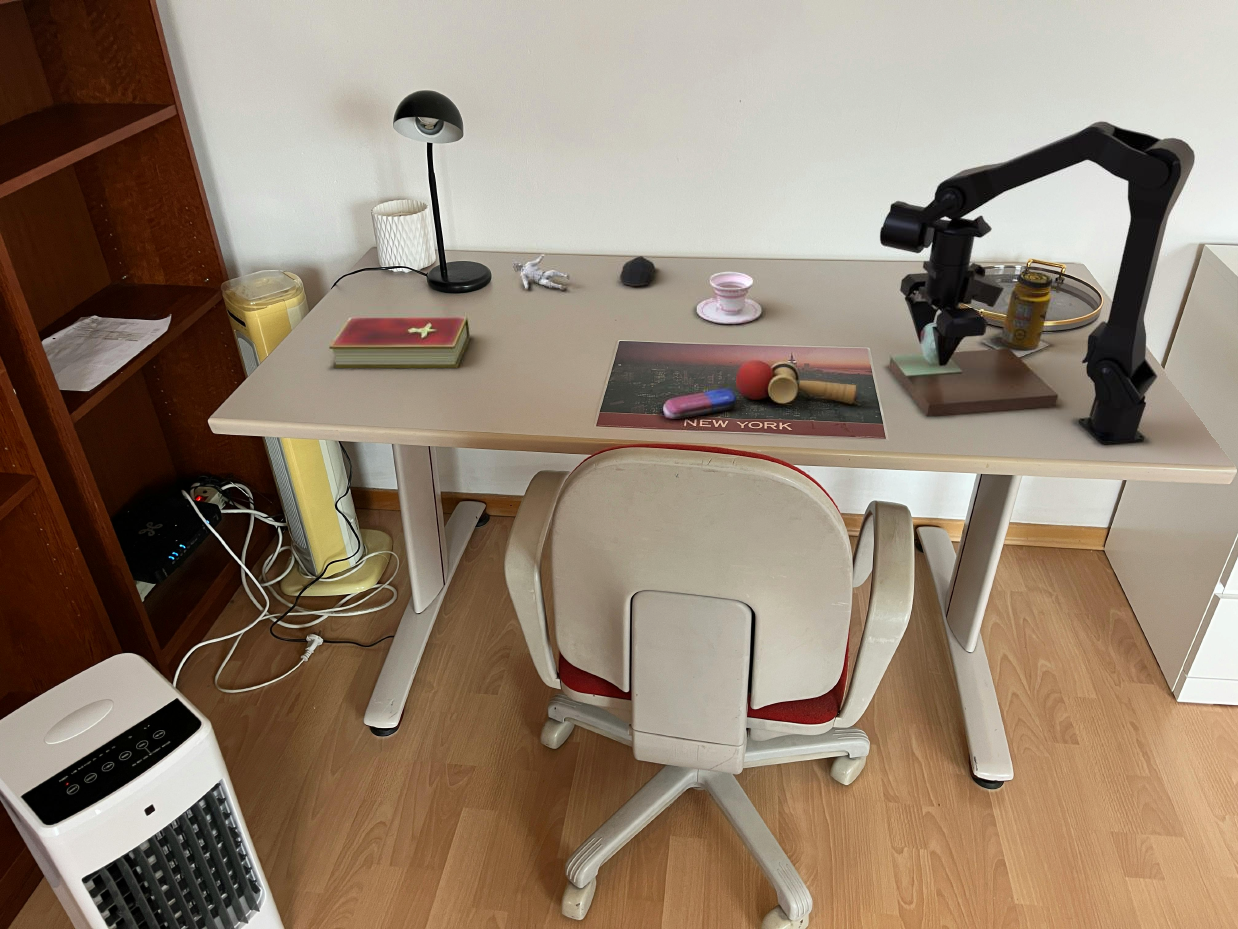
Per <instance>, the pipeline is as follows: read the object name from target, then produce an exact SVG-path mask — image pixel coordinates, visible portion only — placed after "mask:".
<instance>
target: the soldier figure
mask: <svg viewBox="0 0 1238 929" xmlns="http://www.w3.org/2000/svg"><path fill="white" fill-rule="evenodd" d="M545 256H547V255H546V254H541V255H539V257H538V258H537V259H535V260H532V261H528V262H526V264H525V265H523V262H522V261H521V262H520V261H514V262H513V265H512V268H513V271H514V273H516V274H518V272H520V277H521V279H522V282H523V286H524V288H525V289H526V290H529V280H530V281H531V282H535V283H537V284H538V285H542V286H544V287H548V288H549V289H552V288H553V289H560V290H562V291H564V290H565V286H564V285H562V284H557V283H554V282H553V281H551V280H550V279H552V278H554V277H557V278H564V279H566V280H568V281H569V280H570V279H571V277H570V274H569V273H566V274H565V273H562V272H560V271H558V270H557V269H552V270H548V271H544V270H542V269H540V267H539V266H537V265H540V263H541V262H542V261H543V259H544V257H545ZM528 279H529V280H528Z"/></svg>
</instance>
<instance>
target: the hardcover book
mask: <svg viewBox="0 0 1238 929" xmlns="http://www.w3.org/2000/svg"><path fill="white" fill-rule="evenodd" d="M470 336H471V335H470V327H469V320H468V317H349V318H348V319H347V320H346V322H345V323H344V324H343V326H342V327H341V329H340V330H339V332H338V333H337V335H336V336H335V337H334V339H333V340H332V342H331V343H330V344H329V346H328V349H330V350H332V351H333V353H332V354H333V356H334V361H335V362H334V363H333V365H332V368H333V369H427V368H428V369H434V368H435V369H457V368H458V367H459V365H460V362H461V359H462V358H463V354H464V353H465V350H466V348H467V346H468V342H469V341H470Z"/></svg>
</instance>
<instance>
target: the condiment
mask: <svg viewBox="0 0 1238 929" xmlns="http://www.w3.org/2000/svg"><path fill="white" fill-rule="evenodd" d="M1052 284H1053V278H1052V277H1051V276H1050V275H1048V274H1046V273H1043V272H1038V271H1024V272H1021V273H1019V275H1018V276H1017V278H1016V283H1015V285H1014V288H1013V289H1012V290H1011V294H1010V296H1009V302H1008V307H1007V311H1006V315H1005V319H1004V323H1003V327H1002V333H1001V334H999V335H995V336H993V337H990V338H988V339H984V340H982V341H981V343H983V344H985V345H987V346H989V347H991V348H993V349H1007V348H1009V349H1010V350H1011V351H1012V352H1013V353H1014V354H1015V355H1016V356H1017V357H1019V358H1021V357H1024V356H1026V355H1029V354H1031V353H1034V352H1038V351H1039V350H1041V349H1044V348H1046V347H1049V346H1050V343H1047V342H1045V341H1042V340H1041V337H1042V333H1043V329H1044V325H1045V321H1046V317H1047V313H1048V310H1049V306H1050V302H1051V293H1050V292H1051V289H1052Z"/></svg>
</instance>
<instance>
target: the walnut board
mask: <svg viewBox="0 0 1238 929" xmlns="http://www.w3.org/2000/svg"><path fill="white" fill-rule="evenodd" d="M888 368H889V370H890V371H891V372H892V374H893V375H894V376H895V378H896V379H897V380H898V381H899V383H900V384H901V385H902V387H903V388H904V389H905V391H906V392H907V393H908V394H909V396H910V397H911V398H912V399H913V401H914V402H915V403H916V405H917V406H918V407H919V408H920V409H921V412H923V413H924V414H925V416H926V417H935V416H948V415H962V414H963V415H964V414H975V413H988V412H1003V411H1014V410H1015V411H1016V410H1027V409H1040V408H1041V409H1042V408H1053V407H1056V406H1057V402H1058V398H1059V394H1058V393H1057V392H1056V391H1055V390H1054V389H1053V388H1052V387H1051V386H1050V385H1049V384H1048V383H1047V382H1045V381H1044V380H1043V379H1042V378H1041V377H1040V375H1038V374H1037V373H1036V372H1035V371H1034V370H1033V369H1031V368H1030V366H1028V365H1027V364H1026V363H1025V362H1024V361H1023V360H1022V359H1021V357H1017V356H1016V355H1015V354H1014V353H1013V352H1012V351H1011V350H1010V349H1009V348H1007V349H995V348H993V349H982V350H981V349H979V350H968V351H967V350H966V351H954V353H953V355H952V356H951V358H950V360H949V361H948V363H947V365H945V366H940V365H939V364H938V362H937V363H930V362H929V361H927V360H926V358H925V356H924V355H923V352H922V353H907V354H906V353H905V354H893V355H890V357H889V364H888Z"/></svg>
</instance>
